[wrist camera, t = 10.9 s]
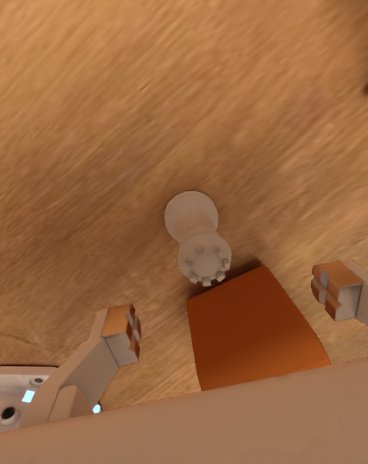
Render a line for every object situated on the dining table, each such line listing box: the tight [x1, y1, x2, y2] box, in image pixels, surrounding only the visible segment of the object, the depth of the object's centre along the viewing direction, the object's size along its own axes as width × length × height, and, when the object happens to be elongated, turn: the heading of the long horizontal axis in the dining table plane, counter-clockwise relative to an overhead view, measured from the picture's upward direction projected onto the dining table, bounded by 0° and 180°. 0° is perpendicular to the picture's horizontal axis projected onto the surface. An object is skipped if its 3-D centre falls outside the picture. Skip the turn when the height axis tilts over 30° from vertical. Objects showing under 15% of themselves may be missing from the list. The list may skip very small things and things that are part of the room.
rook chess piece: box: [164, 191, 232, 286], centre depth 17 cm, size 4×4×8 cm
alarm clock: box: [187, 266, 332, 391], centre depth 23 cm, size 24×8×11 cm, turn 27°
